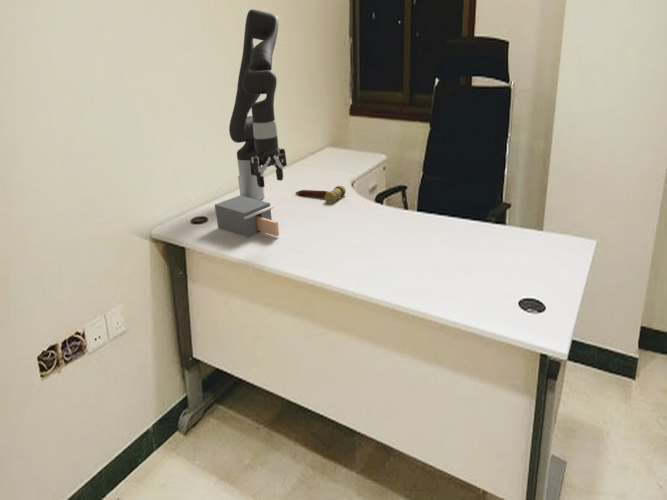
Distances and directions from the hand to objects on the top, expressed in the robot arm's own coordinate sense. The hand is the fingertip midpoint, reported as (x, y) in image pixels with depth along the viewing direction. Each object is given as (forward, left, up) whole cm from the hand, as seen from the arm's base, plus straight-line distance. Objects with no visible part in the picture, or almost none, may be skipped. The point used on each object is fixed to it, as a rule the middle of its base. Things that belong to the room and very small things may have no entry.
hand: (270, 183), depth 188 cm
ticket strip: (-10, -1, -18) cm, 21 cm away
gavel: (-15, +39, -20) cm, 46 cm away
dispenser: (-15, -1, -19) cm, 24 cm away
